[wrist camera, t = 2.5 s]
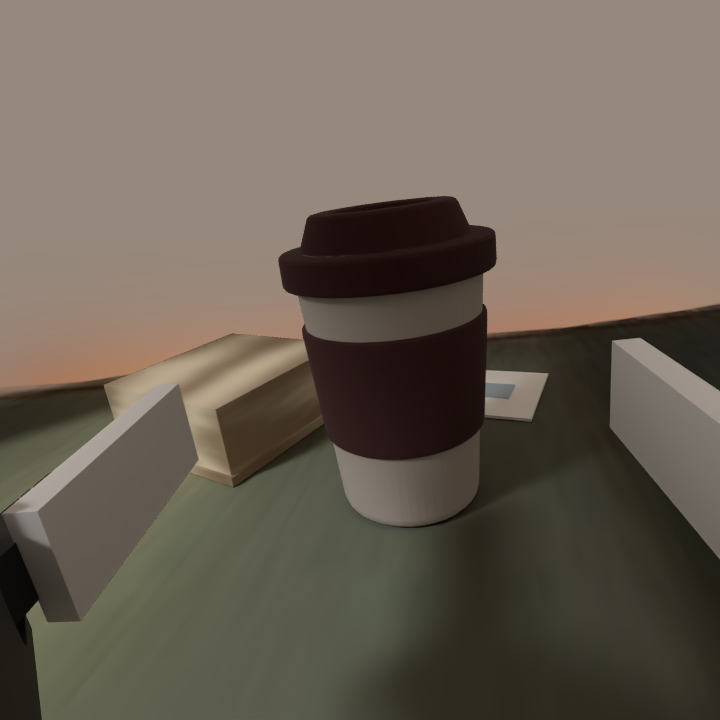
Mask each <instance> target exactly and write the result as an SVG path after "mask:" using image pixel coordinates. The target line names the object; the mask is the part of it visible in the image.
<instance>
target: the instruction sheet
mask: <svg viewBox="0 0 720 720" xmlns="http://www.w3.org/2000/svg"><path fill="white" fill-rule="evenodd" d="M547 378H548V373H530V372H510V371H490V370H486V388H485V417H486V418H496V419H507V420H518V421H529V422H531V421H532V419H533V416H534V413H535V411H536V408H537V405H538V403H539V400H540V397H541V394H542V392H543V389H544V386H545V384H546V381H547Z"/></svg>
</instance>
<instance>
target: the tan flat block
mask: <svg viewBox="0 0 720 720" xmlns="http://www.w3.org/2000/svg"><path fill="white" fill-rule="evenodd" d="M178 383H179V387H180V391H181V395H182V398H183V402H184V406H185V410H186V413H187V417H188V421H189V425H190V428H191V432H192V436H193V440H194V443H195V447H196V451H197V455H198V458H199V460H198V461H197V463H196V464H195V466H194V467H193V468H192V470H191V471H190V473H193V474H196V475H199V476H202V477H205V478H207V479H210V480H213V481H216V482H219V483H222V484H225V485H228V486H231V487H235V486H236V485H238V484H239V483H240V482H242V481H243V480H245V479H246V478H247V477H249V476H250V475H252V474H253V473H255V472H256V471H257V470H259V469H260V468H262V467H263V466H265V465H266V464H267V463H269V462H270V461H272V460H273V459H274V458H276V457H277V456H279V455H280V454H282V453H283V452H284V451H286V450H287V449H289V448H290V447H291V446H293V445H294V444H296V443H297V442H299V441H300V440H301V439H303V438H304V437H306V436H307V435H309V434H310V433H311V432H313V431H314V430H316V429H317V428H318V427H320V426H321V425H323V424H324V421H323V417H322V413H321V409H320V404H319V400H318V396H317V392H316V388H315V384H314V380H313V376H312V372H311V368H310V364H309V360H308V355H307V351H306V347H305V343H304V340H299V339H289V338H277V337H266V336H254V335H244V334H229V335H227V336H225V337H222V338H219V339H217V340H215V341H212V342H210V343H207V344H204V345H202V346H199V347H197V348H195V349H192V350H190V351H187V352H185V353H182V354H180V355H177V356H174V357H172V358H169V359H167V360H164V361H162V362H160V363H157V364H155V365H152V366H150V367H147V368H145V369H142V370H140V371H137V372H135V373H132V374H130V375H127V376H125V377H122V378H120V379H117V380H115V381H112V382H110V383H107V384H105V385H104V388H105V391H106V394H107V398H108V401H109V404H110V407H111V410H112V413H113V416H114V420H115V419H116V418H118V417H119V416H120V415H121V414H122V413H124V412H125V411H126V410H127V409H128V408H130V407H131V406H132V405H133V404H134V403H136V402H137V401H138V400H139V399H140V398H142V397H143V396H144V395H145V394H146V393H148V392H149V391H150V390H151V389H152V388H154V387H155V386H158V385H168V384H178Z"/></svg>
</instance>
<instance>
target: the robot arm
mask: <svg viewBox="0 0 720 720" xmlns="http://www.w3.org/2000/svg"><path fill="white" fill-rule="evenodd" d="M610 428H611V429H612V430H613V432H614V433H615V434H616V435H617V436H618V438H619V439H620V440H621V441H622V442H623V444H624V445H625V446H626V447H627V448H628V450H629V451H630V452H631V453H632V454H633V456H634V457H635V458H636V459H637V460H638V462H639V463H640V464H641V465H642V466H643V468H644V469H645V470H646V471H647V472H648V474H649V475H650V476H651V477H652V478H653V480H654V481H655V482H656V483H657V484H658V486H659V487H660V488H661V489H662V490H663V492H664V493H665V494H666V495H667V496H668V498H669V499H670V500H671V501H672V502H673V504H674V505H675V506H676V507H677V508H678V510H679V511H680V512H681V513H682V514H683V516H684V517H685V518H686V519H687V520H688V522H689V523H690V524H691V525H692V526H693V528H694V529H695V530H696V531H697V532H698V534H699V535H700V536H701V537H702V538H703V540H704V541H705V542H706V543H707V544H708V546H709V547H710V548H711V549H712V550H713V552H714V553H715V554H716V555H717V556H718V558H719V559H720V391H719V390H717V389H716V388H714V387H713V386H711V385H710V384H708V383H707V382H705V381H704V380H702V379H701V378H699V377H698V376H696V375H695V374H693V373H692V372H690V371H689V370H687V369H686V368H684V367H683V366H681V365H680V364H678V363H677V362H675V361H674V360H672V359H671V358H669V357H668V356H666V355H665V354H663V353H662V352H661V351H659V350H658V349H656V348H655V347H653V346H652V345H650V344H649V343H647V342H646V341H644V340H643V339H641V338H635V339H625V340H614V341H612V362H611V399H610ZM198 460H199V458H198V455H197V451H196V447H195V443H194V440H193V436H192V432H191V428H190V425H189V421H188V417H187V413H186V410H185V406H184V402H183V398H182V395H181V391H180V387H179V383H178V384H168V385H158V386H155V387H154V388H152V389H151V390H150V391H149V392H148V393H146V394H145V395H144V396H143V397H142V398H140V399H139V400H138V401H137V402H136V403H134V404H133V405H132V406H131V407H130V408H128V409H127V410H126V411H125V412H124V413H122V414H121V415H120V416H119V417H118V418H116V419H115V420H114V421H113V422H112V423H110V424H109V425H108V426H107V427H106V428H104V429H103V430H102V431H101V432H99V433H98V434H97V435H96V436H95V437H93V438H92V439H91V440H90V441H89V442H87V443H86V444H85V445H84V446H83V447H81V448H80V449H79V450H78V451H77V452H75V453H74V454H73V455H72V456H71V457H69V458H68V459H67V460H66V461H65V462H63V463H62V464H61V465H60V466H59V467H57V468H56V469H55V470H54V471H53V472H51V473H49V474H47V475H46V476H45V477H44V478H42V479H41V480H40V481H39V482H38V483H36V484H35V485H34V486H33V488H32V489H29V490H28V491H27V492H26V493H24V494H23V495H22V496H21V498H20V499H17V500H16V501H15V502H13V503H12V504H11V505H10V506H9V507H7V508H6V509H5V510H4V511H3V512H1V513H0V720H42V718H41V709H40V700H39V691H38V681H37V672H36V663H35V654H34V645H33V636H32V628H31V626H30V623H29V621H28V619H27V617H26V614H27V612H28V611H29V610H30V609H31V608H32V607H33V606H34V604H35V603H36V602H37V601H39V603H40V605H41V608H42V610H43V612H44V615H45V617H46V619H47V622H69V621H81V620H82V619H83V617H84V616H85V615H86V613H87V612H88V610H89V609H90V608H91V606H92V605H93V604H94V602H95V601H96V600H97V598H98V597H99V595H100V594H101V593H102V591H103V590H104V589H105V587H106V586H107V584H108V583H109V582H110V580H111V579H112V578H113V576H114V575H115V574H116V572H117V571H118V569H119V568H120V567H121V565H122V564H123V563H124V561H125V560H126V558H127V557H128V556H129V554H130V553H131V552H132V550H133V549H134V548H135V546H136V545H137V543H138V542H139V541H140V539H141V538H142V537H143V535H144V534H145V533H146V531H147V530H148V528H149V527H150V526H151V524H152V523H153V522H154V520H155V519H156V517H157V516H158V515H159V513H160V512H161V511H162V509H163V508H164V507H165V505H166V504H167V502H168V501H169V500H170V498H171V497H172V496H173V494H174V493H175V492H176V490H177V489H178V487H179V486H180V485H181V483H182V482H183V481H184V479H185V478H186V476H187V475H188V474H189V472H190V471H191V470H192V468H193V467H194V466H195V464H196V463H197V461H198Z"/></svg>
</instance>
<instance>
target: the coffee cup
mask: <svg viewBox="0 0 720 720" xmlns="http://www.w3.org/2000/svg"><path fill="white" fill-rule="evenodd" d="M496 259H497V258H496V236H495V231H494V230H493V229H491V228H488V227H483V226H474V225H469V224H468V222H467V219H466V217H465V215H464V213H463V211H462V209H461V207H460V205H459V202H458V201H457V199H456V198H454V197H449V196H441V197H425V198H416V199H406V200H396V201H388V202H380V203H373V204H365V205H360V206H353V207H346V208H340V209H335V210H329V211H324V212H320V213H317V214H313V215H311V216H309V217H308V218H307V220H306V225H305V230H304V234H303V239H302V243H301V247H299V248H295V249H292V250H290V251H287V252H285V253H283V254H282V255H281V256H280V257H279V267H280V273H281V278H282V284H283V288H284V289H285V290H286V291H287V292H288V293H291V294H294V295H297V296H298V298H299V302H300V306H301V310H302V314H303V319H304V323H305V324H304V326H303V328H302V333H303V339H304V343H305V347H306V351H307V355H308V360H309V364H310V368H311V372H312V376H313V380H314V384H315V388H316V392H317V396H318V400H319V404H320V409H321V413H322V417H323V421H324V425H325V429H326V432H327V435H328V437H329V438H330V440H331V441H332V442H333V444H334V448H335V452H336V457H337V461H338V465H339V469H340V473H341V477H342V482H343V486H344V490H345V494H346V496H347V499H348V501H349V502H350V504H351V506H352V507H353V508H354V509H355V510H356V511H357V512H359V513H360V514H361V515H362V516H364V517H366V518H368V519H370V520H372V521H375V522H378V523H381V524H385V525H390V526H398V527H414V526H423V525H428V524H433V523H436V522H440V521H443V520H446V519H448V518H450V517H452V516H454V515H456V514H457V513H459V512H460V511H461V510H463V509H464V508H465V507H467V505H468V504H469V503H470V502H471V501H472V500H473V498H474V496H475V495H476V492H477V489H478V485H479V465H480V428H481V426H482V424H483V422H484V417H485V388H486V349H487V309H486V307H485V305H484V304H483V273H485V272H487V271H489V270H490V269H491V268H493V267H494V266H495V264H496Z"/></svg>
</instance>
